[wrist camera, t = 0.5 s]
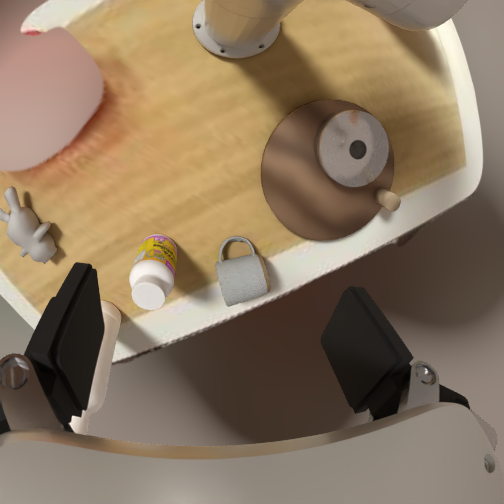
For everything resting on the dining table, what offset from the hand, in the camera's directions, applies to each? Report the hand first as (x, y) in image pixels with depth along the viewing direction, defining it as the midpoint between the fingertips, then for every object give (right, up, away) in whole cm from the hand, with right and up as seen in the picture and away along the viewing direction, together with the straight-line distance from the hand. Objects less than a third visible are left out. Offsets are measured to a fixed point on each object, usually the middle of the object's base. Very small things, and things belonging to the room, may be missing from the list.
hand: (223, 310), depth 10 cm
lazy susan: (+14, +15, +33) cm, 39 cm away
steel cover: (+16, +19, +29) cm, 38 cm away
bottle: (-29, -11, +40) cm, 51 cm away
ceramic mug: (-2, +1, +40) cm, 40 cm away
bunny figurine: (-39, +8, +28) cm, 49 cm away
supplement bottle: (-15, +3, +36) cm, 39 cm away
